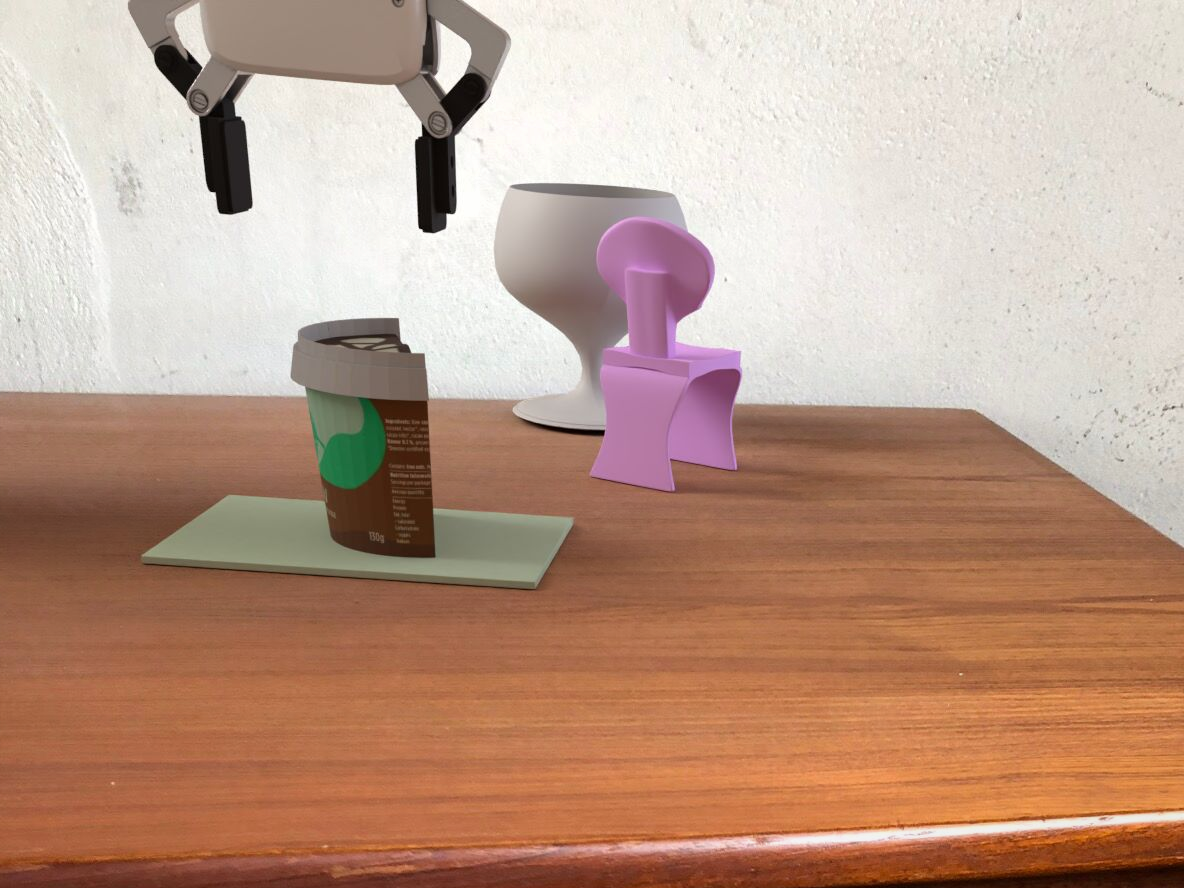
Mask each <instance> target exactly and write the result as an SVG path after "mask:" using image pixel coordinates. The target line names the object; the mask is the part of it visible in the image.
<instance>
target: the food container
mask: <svg viewBox="0 0 1184 888" xmlns="http://www.w3.org/2000/svg"><path fill="white" fill-rule="evenodd" d="M400 327H401V326H400V317H365V318H364V317H362V318H349V319H348V318H347V319H346V318H345V319H336V320H328V321H322V322H317V323H311V324H308V325H306V326H303V327H300V328H299V329H298V330H297V341H296V342H295V343H294V344H293V346H292V355H291V367H290V375H289V376H290V379H291V380H292V381H293V382H294V383H296V384H297V385H300V386H303V387H304V389H305V390H304V391H305V394H306V400H307V406H308V407H307V408H308V412H309V413H308V414H309V419H310V424H311V429H312V435H313V441H314V448H315V452H316V457H317V458H316V459H317V464H318V465H317V466H318V470H319V476H320V482H321V487H322V493H323V499H324V500H323V501H325V506H326V511H327V517H328V523H329V529H330V535H331V537H332V539H333V540H334V541H335V542H336V543H338V544H340V545H342V546H344V547H346V548H349V549H352V550H356V551H360V552H365V553H370V554H376V555H384V556H394V557H414V558H430V557H436V553H435V534H434V515H433V508H434V499H433V479H432V461H431V460H432V459H431V443H430V424H429V422H430V421H429V405H428V403H429V402H428V401H430V397H429V396H430V395H429V385H428V373H427V372H428V371H427V368H426V367H427V366H426V354H425V353H424V352H412V351H411V348H410V346H409V344H407V343H403V342H402V339H401V328H400Z"/></svg>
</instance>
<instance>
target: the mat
mask: <svg viewBox="0 0 1184 888" xmlns="http://www.w3.org/2000/svg"><path fill="white" fill-rule="evenodd" d="M433 515H434V534H435V553H436V557H430V558H414V557H394V556H384V555H376V554H370V553H365V552H360V551H356V550H352V549H349V548H346V547H344V546H342V545H340V544H338V543H336V542H335V541H334V540H333V539H332V537H331V535H330V529H329V523H328V517H327V511H326V506H325V500H314V499H313V500H312V499H299V498H298V499H297V498H296V499H295V498H284V497H267V496H253V495H239V494H228V495H226V496H225V497H224V498H222V499H221V500H218V501H217V503H215V504H213V505H212V506H210V507H209V508H208V509H207V510H204V512H202V513H200V514H199V515H198V516H196V517H195V518H194V519H192V520H191V521H189V522H187V523H186V524H185V525H183V526H182V527H180V528H179V529H177V530H176V531H175V532H173V533H171V534H170V535H169V536H167V537H166V538H164V539H163V540H161V541H160V542H159V543H158V544H156V545H154V546H153V547H152V548H150V549H148V550H147V551H146V552H144V553H143V554H141V555H140V559H141V563H142V564H145V565H147V564H148V565H162V566H177V567H191V568H207V569H220V570H221V569H222V570H236V571H250V572H251V571H253V572H265V573H266V572H268V573H280V574H283V573H284V574H297V575H298V574H299V575H314V576H325V577H328V576H329V577H341V578H357V579H358V578H359V579H370V580H371V579H373V580H386V581H387V580H388V581H401V582H402V581H403V582H418V583H431V584H432V583H433V584H449V585H463V586H478V587H490V588H491V587H493V588H508V589H523V590H536V588H537V587H538V585H539V583H540V582H541V580H542V578H543V577H544V575H545V573H546V572H547V570H548V568H549V567H550V564H551V563H552V562H553V560H554V558H555V556H556V555H557V553H558V551H559V550H560V548H561V546H562V544H563V543H564V541H565V539H566V537H567V536H568V534H569V532H570V531H571V530H572V528H573V526H574V517H571V516H570V517H568V516H555V515H543V514H542V515H540V514H524V513H509V512H495V511H479V510H466V509H465V510H464V509H449V508H435V507H433Z"/></svg>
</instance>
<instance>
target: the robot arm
mask: <svg viewBox="0 0 1184 888" xmlns="http://www.w3.org/2000/svg"><path fill="white" fill-rule="evenodd" d="M197 4H199V13H200V14H199V15H200V21H201V27H202V33H203V38H204V42H205V43H204V44H205V46H206V48H207V51H208V53H209V54H210V57H209V58H208V60H207V61H206V63H205V64H204V66H202V65H201V64H200V62H199V61H198V60H197V59H196V58H195V57H194V55H192V53H190V51H189V50H188V49H187V48H185V46H184V45H183V43H182V41H181V39H180V34H179V32H178V30H177V28H176V23H175V22H176V19H177V17H178V15H180V14H181V13H183V12H185V11H187V10H188V9H191V8H192V7H194V6H195V5H197ZM127 10H128V12H129V14H130V17H131V18H132V21H133V22H134V24H135V26H136V27H137V29H138V31H139V34H140V35H141V37H142V39H143V41H144V43H145V45H146V46H147V48H148V49H149V50H150V52H151V53H152V55H153V60H154V61H153V62H154V64H155V67H156V68H157V70H158V71H159V72H160V73H161V74H162V75H163V77H165V79H166V80H167V81H168V82H169V83H170V84H171V85H172V87H174V89H175V90H176V91H177V92H178V94H180V95H181V96H182V98H183V99H184V100H185V101H186V104H187V107H188V109H189V110H190V111H191V113H192V114H194V115H196V116H198V123H199V131H200V140H201V149H202V150H201V151H202V160H203V167H204V177H205V179H204V180H205V184H206V188H207V190H208V191H209V192H210V193H213V194H214V193H215V201H216V210H217V212H218V213H219V214H220V215H229V216H233V215H236V214H242V213H245V212H248V211H249V210H251V209H253V206H254V205H253V204H254V203H253V202H254V201H253V191H252V190H253V189H252V180H251V170H250V168H251V167H250V160H249V159H250V158H249V148H248V147H249V146H248V135H247V126H246V122H245V121H244V119H242V118H243V117H242V116H240V115H236V105H235V104H236V102H237V101H238V100H239V99H240V97H241V95H242V93H243V92H244V91H245V89H246V88H247V86H248V85H249V83H250V82H251V80H252V79H253V77H254V76H255V74H256V75H267V76H276V77H285V78H286V77H287V78H296V79H305V80H306V79H307V80H317V81H327V82H338V83H339V82H341V83H350V84H352V83H353V84H360V85H361V84H363V85H377V86H394V87H396V89H397V90H398V92H399V93H400V94H401V97H403V99H404V100H405V101H406V103H407V104H408V106H409V107H410V108H411V110H412V111H413V113H414V114H415V116H416V117H417V118H418V119H419V121H420V122H421V136H417V138H415V140H414V162H415V164H414V165H415V182H416V183H415V184H416V185H415V187H416V209H417V212H416V213H417V228H418V230H422V233H425V234H436V233H439V232H441V231H445V230H446V229H447V224H448V218H447V217H448V215H455V214H456V211H457V205H458V203H457V202H458V200H457V199H458V194H457V193H458V192H457V164H456V160H457V159H456V136H458V135H459V134H460V133H461V132H462V130H463V128H464V127H465V126H466V124H467V123H468V122H469V121H470V120H471V119H472V118H473V117H474V116H475V115H476V113H477V112H478V111H479V110H480V109H481V108H482V107H483V106H484V105H485V104H486V102H487V101H488V100H489V98H490V97H491V95H492V89H493V87H494V85H495V84H496V81H497V79H498V77H499V76H500V73H501V71H502V68H503V66H504V64H505V61H506V59H507V57H508V55H509V53H510V50H511V48H512V38H511V36H510V34H509V33H508V32H507V30H505V29H503V28H502V26H500V25H498V24H496V23H495V22H494V21H493V20H491V19H490V18H488V17H487V16H485V15H484V14H482V13H481V12H480V11H478V10H477V9H476V8H474V7H473V6H471V5H470V4H468V2H466V1H464V0H128V2H127ZM441 25H442V26H444V27H445V28H446V29H448V30H450V31H451V32H453V33H454V34H456V35H457V36H459V38H461V39H462V40H464V41H465V42H466V43H467V44H468V45H469V47H470V53H471V54H470V58H469V61H468V62H467V64H468V65H467V66H466V69H465V72H464V74H463V75H462V76H461V77H460V78H459V80H458V81H457V82H456V83H455V84H454V86H452V88H451V89H450V90H449V91H448V92H446V91H445V89H444V88H443V87H442V85H441V84H440V83H439V81H438V80H437V78H436V75H438V73H439V71H440V66H441V59H442V33H441V32H442V31H441Z"/></svg>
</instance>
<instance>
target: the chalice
mask: <svg viewBox="0 0 1184 888" xmlns="http://www.w3.org/2000/svg"><path fill="white" fill-rule="evenodd" d="M631 217H649V218H656V219H661V220H664V221H667V222H670V223H672V224H674V225H676V226H678V227H680V228H682V229H684V230H685V231H687V232H689V230H688V226H687V222H686V218H685V215H684V212H683V209H682V207H681V205H680V202H679V200H678V198H677V196H676V194H674V193H672V192H667V191H663V190H656V189H649V188H641V187H640V188H639V187H633V186H632V187H631V186H620V185H607V184H606V185H605V184H591V183H589V184H587V183H567V182H566V183H564V182H563V183H562V182H530V183H528V182H527V183H515V184H511V185H509V187H508V188H507V190H506V192H505V194H504V196H503V200H502V202H501V203H500V208H499V211H498V215H497V220H496V225H495V226H496V227H495V231H494V243H493V256H494V258H493V259H494V268H495V271H496V273H497V276H498V279H499V282H500V283H501V284H502V286H503V288H505V291H506V292H507V293H508V294H510V296H512V297H513V298H514V299H515V300H516V301H517V302H519V304H521V305H522V306H524V307H525V308H526V309H528V310H529V311H531V312H532V313H534V314H536V315H537V316H539V317H540V318H542V319H543V320H545V321H546V322H548V323H549V324H550V325H552V326H553V327H554V328H556V329H557V330H558V331H559V332H561V333H562V334H563V335H564V336H565V337H566V338H567V339H568V340H569V342H570V343H571V344H572V345H573V347H574V349H575V350H576V352H577V354H578V356H579V360H580V364H581V373H580V380H579V381H578V383H577V384H576V385H575V387H574V389H572V390H571V391H569V392H567V393H555V394H553V393H552V394H545V395H541V396H535V397H530V398H527V399H523V400H521V401H519V402H517V404H515V406H513V407H512V413H513V414H514V415H515V416H517V417H518V418H521V419H523V420H526V421H529V422H532V423H536V424H539V425H544V426H549V427H555V428H560V429H567V430H568V429H569V430H580V431H597V432H598V431H601V432H605V430H606V408H605V401H604V396H603V391H602V386H601V380H600V371H601V368H602V366H603V349H606V348H611V347H616V346H617V344H618V343H619V342H621V340H622V339H624V338H625V336H627V335H629V333H628V317H627V304H626V303H625V302H624V301H623V300H622V299H621V298H620V297H619V295H618V294H617V293H616V292H615V291H613V290H612V289H611V288H610V287H609V286H608V285H607V283H606V282H605V281H604V280H603V278H602V276H601V275H600V273H599V270H598V267H597V260H596V258H597V249H598V245H599V243H600V240H601V238H602V236H603V235H604V234H605V232H606V231H607V230H608V229H609V228H611V227H612V226H613V225H615V224H616V223H618V222H620V221H622V220H624V219H627V218H631Z"/></svg>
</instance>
